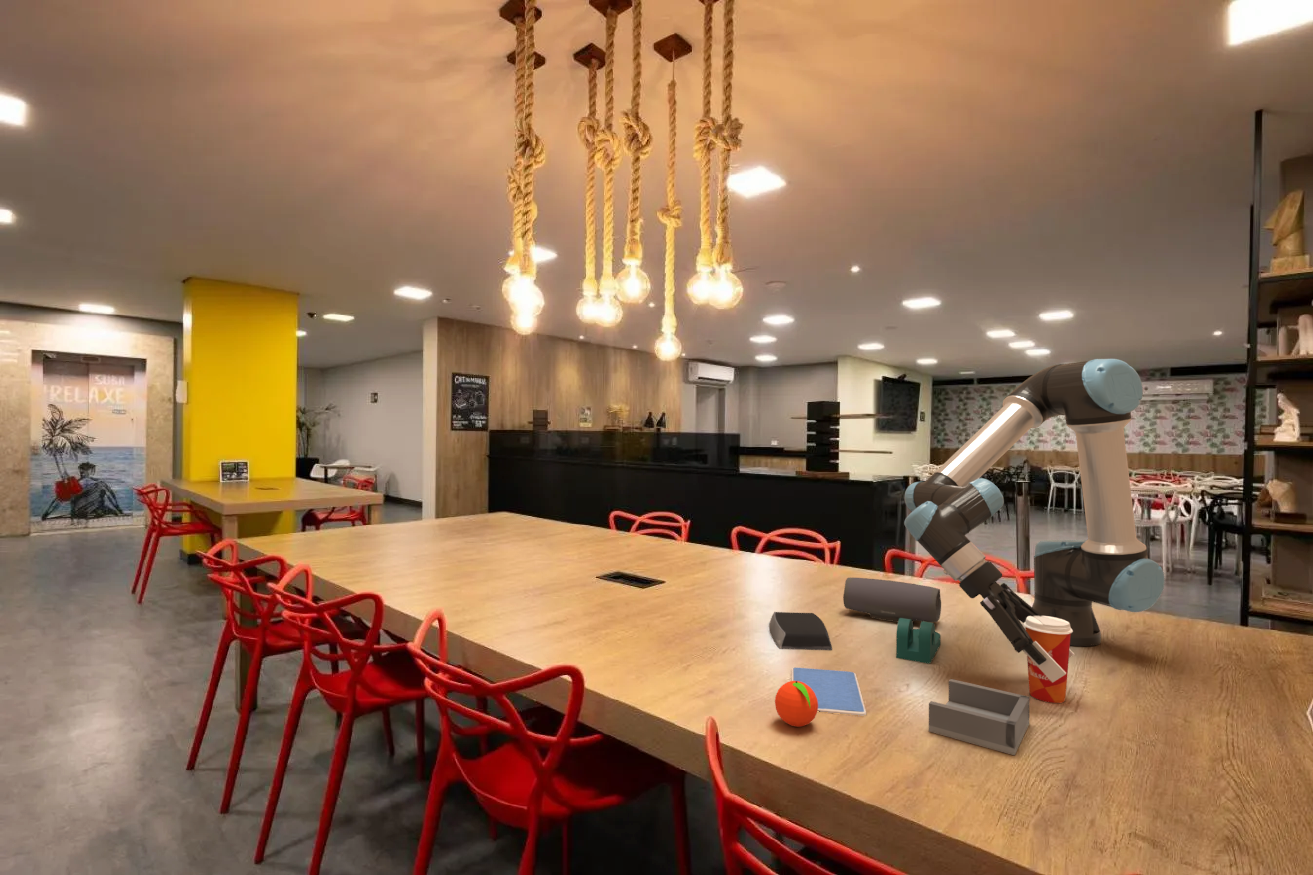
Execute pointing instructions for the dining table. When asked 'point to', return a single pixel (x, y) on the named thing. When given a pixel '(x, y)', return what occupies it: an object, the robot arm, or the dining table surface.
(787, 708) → the clementine
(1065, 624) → the paper cup
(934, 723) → the cup holder
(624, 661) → the dining table surface
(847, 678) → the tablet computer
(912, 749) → the dining table surface
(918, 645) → the bracket
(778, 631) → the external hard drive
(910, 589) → the bluetooth speaker
